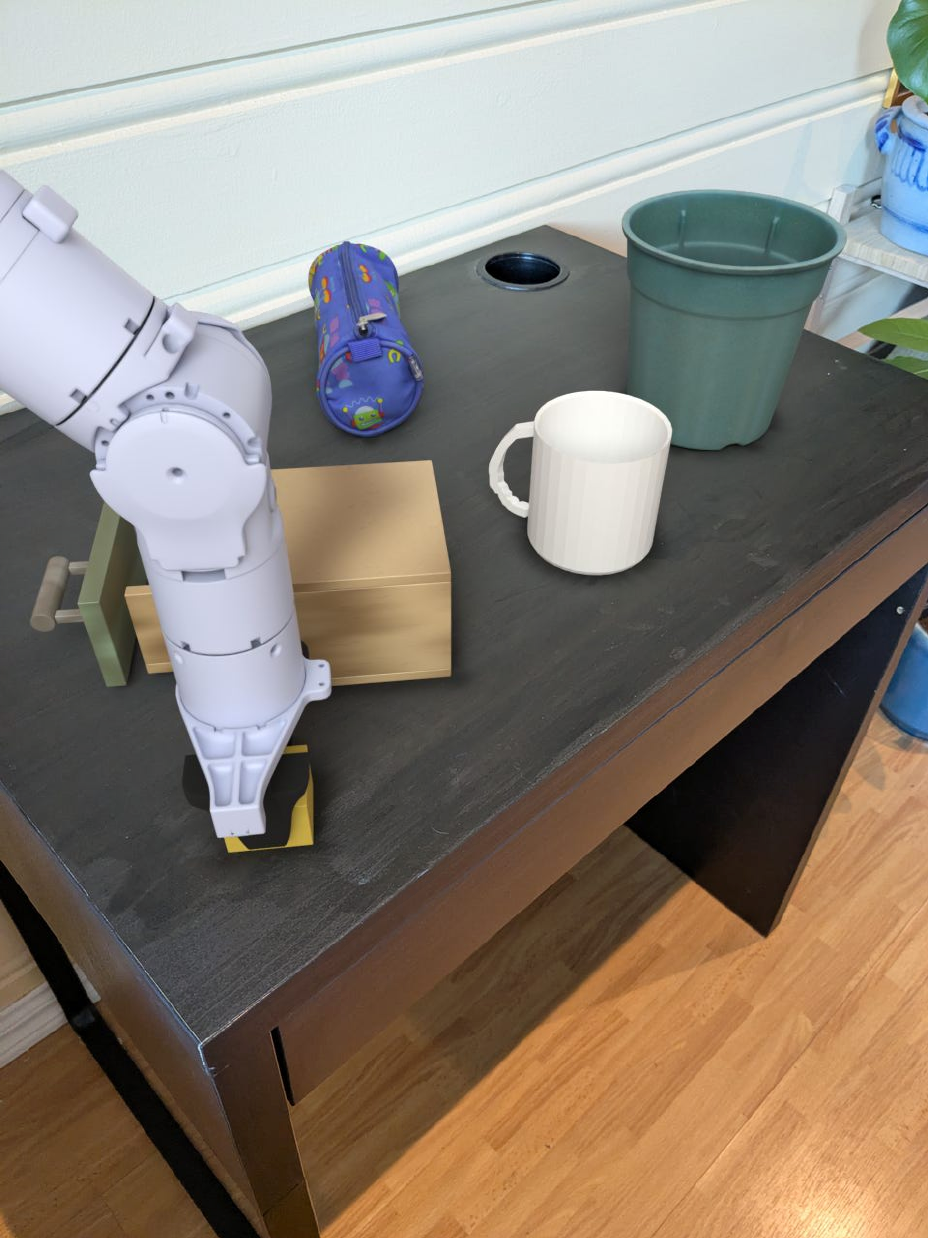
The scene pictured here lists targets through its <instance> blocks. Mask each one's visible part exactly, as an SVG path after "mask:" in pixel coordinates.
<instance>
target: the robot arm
mask: <svg viewBox="0 0 928 1238" xmlns="http://www.w3.org/2000/svg"><path fill="white" fill-rule="evenodd" d="M78 217H79V211H78V209H77V208H76V207H75V206H73V205H72V204H71V203H70V202H68V201H67V199H65V198H64V197H63V196H61V195H60V194H59V193H58V192H57V191H56V190H54V189H53V188H52V187H51V186H50V185H47V184H42V185H41V186H39V188H38V189H37V190H36V191H35V193H34V194H33V193H32V192H31V191H30V190H29V189H28V188H26V187H25V186H23V184H21V183H20V182H19V181H17V180H16V179H15V178H14V177H13V176H11V174H9V173H8V172H7V171H5V170H4V169H1V168H0V391H2V392H3V393H5V394H6V395H7V396H8V397H9V398H12V399H13V400H14V401H15V402H18V403H19V404H20V405H21V406H23V407H25V408H26V409H27V410H29V411H30V412H32V413H34V414H35V415H36V416H38V417H39V418H41V419H42V420H43V421H44V422H46V423H47V424H49V425H51V426H53V427H54V428H55V429H57V431H59V432H61V433H62V434H63V435H65V436H67V437H68V438H70V439H71V440H72V441H74V442H75V443H77V444H79V445H81V446H82V447H83V448H85V449H87V450H88V451H90V452H91V453H94V456H95V461H96V464H95V469H92V470H90V472H89V477H90V480H91V482H92V484H93V486H94V489H95V490H96V492H97V493H98V495H99V496H100V497H101V499H102V500H103V502H104V501H105V502H106V503H107V504H108V505H109V506H110V507H111V508H112V509H113V510H114V511H115V512H116V513H117V514H119V515H120V516H121V517H122V518H124V519H125V520H127V521H128V522H130V523H131V524H132V525H133V527H134V531H135V534H136V538H137V543H138V547H139V551H140V554H141V557H142V561H143V564H144V568H145V571H146V575H147V582H148V585H149V586H150V589H151V593H152V596H153V600H154V604H155V607H156V611H157V614H158V618H159V621H160V625H161V630H162V633H163V637H164V640H165V644H166V647H167V650H168V654H169V658H170V661H171V665H172V668H173V672H172V673H173V675H174V679H175V681H176V684H175V699H176V703H177V706H178V709H179V713H180V716H181V718H182V721H183V724H184V726H185V729H186V731H187V734H188V736H189V740H190V741H191V744H192V747H193V749H194V752H195V754H186V755H184V760H183V768H182V775H181V776H182V777H181V787H182V790H183V794H184V796H185V799H186V800H187V802H188V804H189V805H190V806H192V807H194V808H196V809H200V810H204V811H205V812H208V813H210V816H211V821H212V824H213V828H214V831H215V835H216V837H217V838H218V839H224V837H232V836H233V837H238V839H239V840H240V841H241V842H242V843H243V845H244V846H245V847H246V848H247V849H249V850H252V851H255V850H254V849H262V850H265V849H264V848H273V849H275V848H274V847H283V848H286V847H285V846H286V845H287V843H288V840H289V837H290V832H291V820H292V812H293V808H294V806H295V804H296V803H297V801H298V800H299V799H300V798H301V797H302V796H303V795H305V793H306V790H307V787H308V783H309V778H310V768H311V761H310V760H311V759H310V758H311V755H310V751H308V752H300V753H288V754H282V753H283V751H284V749H285V747H286V746H293V736H294V731H295V728H296V726H297V725H298V722H299V720H300V718H301V716H302V714H303V712H304V710H305V707H306V706H307V705H308V704H309V703H310V702H313V701H314V702H315V701H323V700H327V699H328V698H329V697H330V696H331V694H332V686H331V670H330V665H329V662H327V661H325V660H309V650H308V646H307V645H306V644H305V643H304V642H303V641H301V640H300V635H299V628H298V621H297V615H296V608H295V599H294V593H293V586H292V579H291V572H290V566H289V559H288V552H287V545H286V538H285V532H284V525H283V519H282V515H281V512H280V509H279V506H278V504H277V492H276V486H275V483H274V480H273V478H272V475H271V470H272V468H271V462H270V457H269V452H268V451H267V450H268V449H267V448H268V440H269V432H270V423H271V415H272V409H273V407H272V406H273V393H272V382H271V378H270V377H271V376H270V373H269V370H268V367H267V365H266V363H265V361H264V359H263V357H262V356H261V354H260V353H259V351H258V350H257V349H256V348H255V346H254V345H253V344H252V343H251V342H250V341H249V340H248V339H247V338H246V337H245V335H244V333H243V331H242V330H241V328H240V327H239V326H238V325H237V324H235V323H233V322H232V321H230V320H228V319H225V318H224V317H221V316H218V315H215V314H211V313H207V312H202V311H196V310H195V311H193V310H187V308H185V307H184V306H183V305H182V304H181V303H180V302H174V303H173V304H172V305H171V306H170V305H168V304H167V303H166V302H164V301H163V300H162V299H161V298H160V297H157V296H156V295H154V293H152V292H151V291H150V290H149V289H148V288H147V287H145V286H144V285H142V284H141V283H140V281H138V280H137V279H136V278H134V277H133V276H132V275H131V274H129V273H128V272H127V271H126V270H125V269H124V268H122V267H121V266H120V264H118V263H116V261H114V260H113V259H111V258H110V257H109V256H108V255H107V254H105V253H104V252H103V251H102V250H101V249H100V248H98V247H97V246H96V245H94V244H93V243H92V242H91V241H90V240H88V239H87V238H86V237H85V236H84V235H83V234H82V233H80V232H79V231H78V230H77V229H76V228H74V227H73V226H74V224H75V222H76V220H77V219H78Z"/></svg>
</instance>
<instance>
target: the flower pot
mask: <svg viewBox="0 0 928 1238" xmlns="http://www.w3.org/2000/svg"><path fill="white" fill-rule="evenodd" d="M621 230H622V233H623V235H624V237H625V239H626V274H627V278H628V281H629V283H630V285H629V319H628V320H629V321H628V349H627V350H628V353H627V382H626V383H627V385H626V395H629V396H632V397H635V398H638V399H641V400H643V401H645V402H648V403H650V404H651V405H653V406H654V407H656V408H657V409H659V410H660V411H661V412H662V413H663V414H664V415H665V416H666V417H667V419H668V420H669V422H670V424H671V428H672V435H671V442H670V445H672V446H675V447H678V448H679V447H680V448H683V449H689V450H700V451H721V450H722V449H723V448H725V447H727V446H729V445H734V444H737V445H739V446H741V447H742V446H746V445H749V444H751V443H754V442H755V441H757V440H758V439H760V438H761V437H762V436H763V435H764V434H765V433H766V432H767V430H768V429H769V427H770V425H771V422H772V420H773V417H774V414H775V410H776V409H777V405H778V402H779V399H780V397H781V394H782V391H783V388H784V385H785V383H786V379H787V377H788V374H789V371H790V368H791V366H792V362H793V360H794V357H795V354H796V351H797V348H798V345H799V343H800V339H801V337H802V334H803V332H804V329H805V326H806V324H807V322H808V318H809V315H810V313H811V310H812V307H813V304H814V302H815V301H816V300H817V299H818V297H820V295H821V293H822V290H823V288H824V285H825V282H826V280H827V277H828V275H829V274H828V273H829V271H830V268H831V266H832V263H833V261H834V260H835V259H836V258H837V257H839V256H840V254H841V253H842V251H843V250H844V249H845V246H846V244H847V243H848V242H847V241H848V234H847V232H846V230H845V228H844V227H843V226H842V224H840V222H839V221H838V220H837V219H836V218H834V217H832V216H831V215H830V214H828V213H826V212H825V211H822V210H820V209H818V208H816V207H813V206H811V205H808V204H805V203H803V202H800V201H796V200H792V199H789V198H785V197H782V196H777V195H771V194H766V193H759V192H755V191H744V190H736V189H735V190H734V189H713V188H712V189H709V188H708V189H688V190H679V191H671V192H667V193H663V194H659V195H655V196H651V197H648V198H646V199H644V200H640V201H639V202H637V203H635V204H633V205H632V206H630V207H629V208H628V209H627V210H626V211H625V212H624V213H623V216H622V218H621Z"/></svg>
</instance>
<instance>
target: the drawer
mask: <svg viewBox="0 0 928 1238" xmlns="http://www.w3.org/2000/svg"><path fill="white" fill-rule="evenodd" d="M79 575H84V577H83V580H82V583H81V589H80V592H79V596H78V600H77V603H76V604H77V606H78V608H71V609H69V608H68V609H61V608H62V603H63V600H64V597H65V593H66V589H67V587H68V582H69V579H70V576H79ZM147 581H148V579H147V575H146V571H145V568H144V564H143V561H142V557H141V554H140V551H139V547H138V543H137V533H136V530H135V526H134V525H132V524H131V523H130V522H128V521H127V520H125V519H124V518H122V517H121V516H120V515H119V514H117V513H116V512H115V511H114V510H113V509H112V508H111V507H110V506H109V505H108V504H107V503H106V502H105V501H104V500H103V505H102V509H101V512H100V516H99V519H98V524H97V527H96V532H95V535H94V539H93V543H92V547H91V551H90V554H89V558H88V560H82V561H71V560H69V559H68V558H66V557H64V556H61V555H60V556H59V555H56V556H52V557H50V558H49V559H48V562H47V565H46V568H45V571H44V574H43V577H42V580H41V584H40V586H39V590H38V593H37V597H36V599H35V602H34V606H33V609H32V612H31V616H30V618H29V624H30V626H31V627H32V628H33V629H34V630H36V631H38V632H42V633H47V632H51V631H53V630H54V629H55V628H56V624H58V625H59V624H71V623H72V624H73V623H83V624H84V627H85V629H86V633H87V635H88V638H89V641H90V643H91V646H92V649H93V652H94V655H95V657H96V660H97V663H98V666H99V668H100V671H101V674H102V677H103V680H104V683H105V686H106V687H107V688H111V687H124V686H127V685H128V681H129V674H130V669H131V665H132V658H133V655H134V648H135V643H136V638H137V641H138V645H139V648H140V651H141V654H142V658H143V660H144V664H145V668H146V672H147V674H148V675H149V674H150V675H151V674H164V673H174V672H173V668H172V665H171V661H170V658H169V654H168V650H167V647H166V644H165V640H164V637H163V633H162V630H161V625H160V621H159V618H158V614H157V611H156V607H155V604H154V600H153V596H152V593H151V589H150V586H149V584H147Z"/></svg>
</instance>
